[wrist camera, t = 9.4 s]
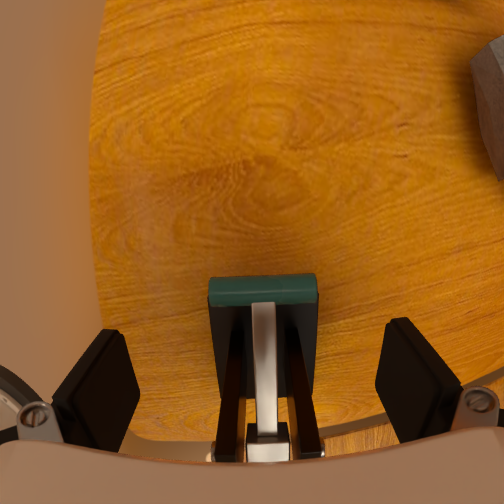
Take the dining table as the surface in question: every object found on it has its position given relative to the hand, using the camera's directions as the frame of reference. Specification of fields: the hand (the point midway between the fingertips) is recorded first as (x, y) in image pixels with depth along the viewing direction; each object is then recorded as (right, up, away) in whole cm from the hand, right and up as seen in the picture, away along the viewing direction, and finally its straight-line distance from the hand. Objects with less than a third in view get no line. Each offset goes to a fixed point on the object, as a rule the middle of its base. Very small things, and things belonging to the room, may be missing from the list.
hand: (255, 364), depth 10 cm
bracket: (+1, -4, +15) cm, 15 cm away
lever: (+1, -3, +6) cm, 6 cm away
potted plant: (+22, +15, +9) cm, 28 cm away
